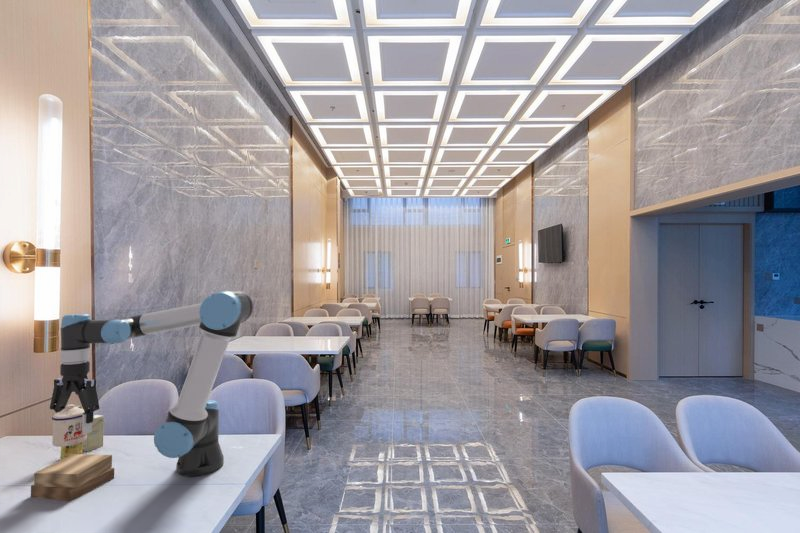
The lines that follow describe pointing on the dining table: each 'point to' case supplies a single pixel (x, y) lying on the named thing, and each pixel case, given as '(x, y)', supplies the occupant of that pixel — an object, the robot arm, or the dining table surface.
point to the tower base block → (72, 488)
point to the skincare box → (94, 435)
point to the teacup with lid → (68, 427)
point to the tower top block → (72, 470)
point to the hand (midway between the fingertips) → (74, 432)
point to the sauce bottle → (71, 448)
